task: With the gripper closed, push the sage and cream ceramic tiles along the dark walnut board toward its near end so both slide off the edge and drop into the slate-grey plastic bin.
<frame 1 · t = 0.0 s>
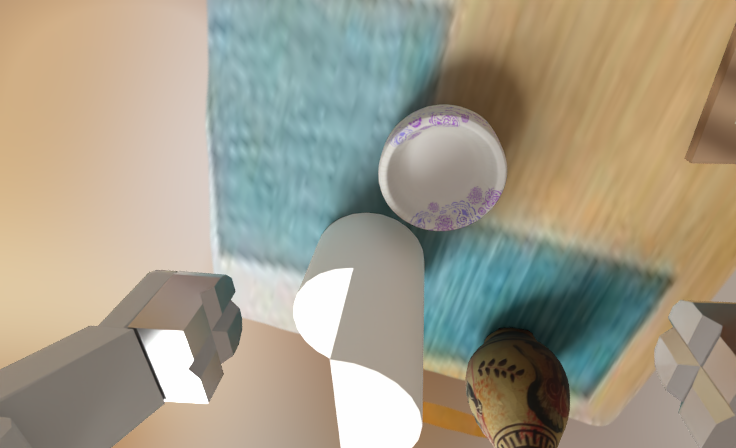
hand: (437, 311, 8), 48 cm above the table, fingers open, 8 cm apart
ceramic jug: (508, 349, 73), on the table
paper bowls: (439, 153, 57), on the table
cylinder: (369, 259, 67), on the table
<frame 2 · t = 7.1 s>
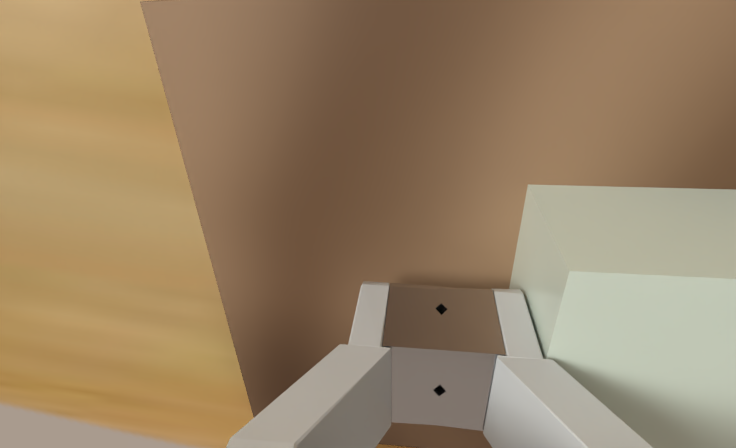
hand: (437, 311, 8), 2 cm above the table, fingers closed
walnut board: (668, 261, 9), on the table
sage tile: (638, 303, 8), point 2 cm above the table, touching gripper
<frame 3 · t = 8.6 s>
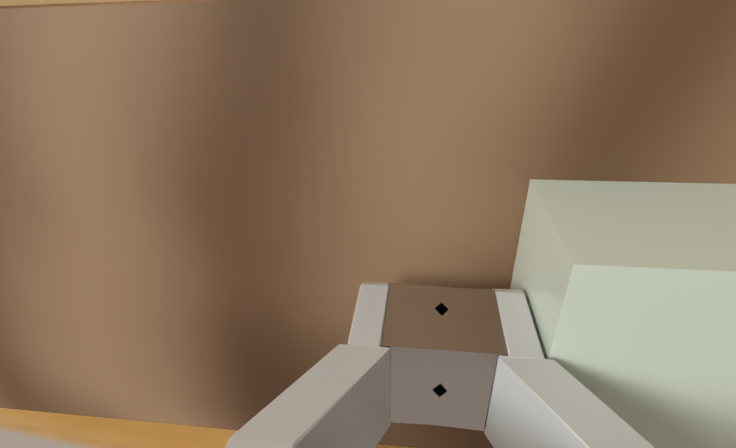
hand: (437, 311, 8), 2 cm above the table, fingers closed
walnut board: (294, 246, 10), on the table
sage tile: (640, 299, 8), point 2 cm above the table, touching gripper, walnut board
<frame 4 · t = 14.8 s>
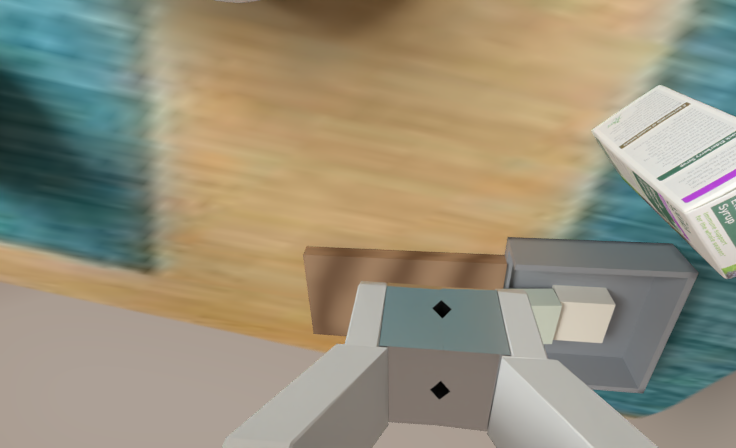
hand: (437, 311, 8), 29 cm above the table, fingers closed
grey bin: (570, 302, 43), on the table
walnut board: (402, 292, 45), on the table
syrup box: (639, 131, 34), on the table
sage tile: (523, 307, 43), point 1 cm above the table, tilted 5°, touching cream tile, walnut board
cream tile: (573, 305, 43), resting on grey bin, touching sage tile
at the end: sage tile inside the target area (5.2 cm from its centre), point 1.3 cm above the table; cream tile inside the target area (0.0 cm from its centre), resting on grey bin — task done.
